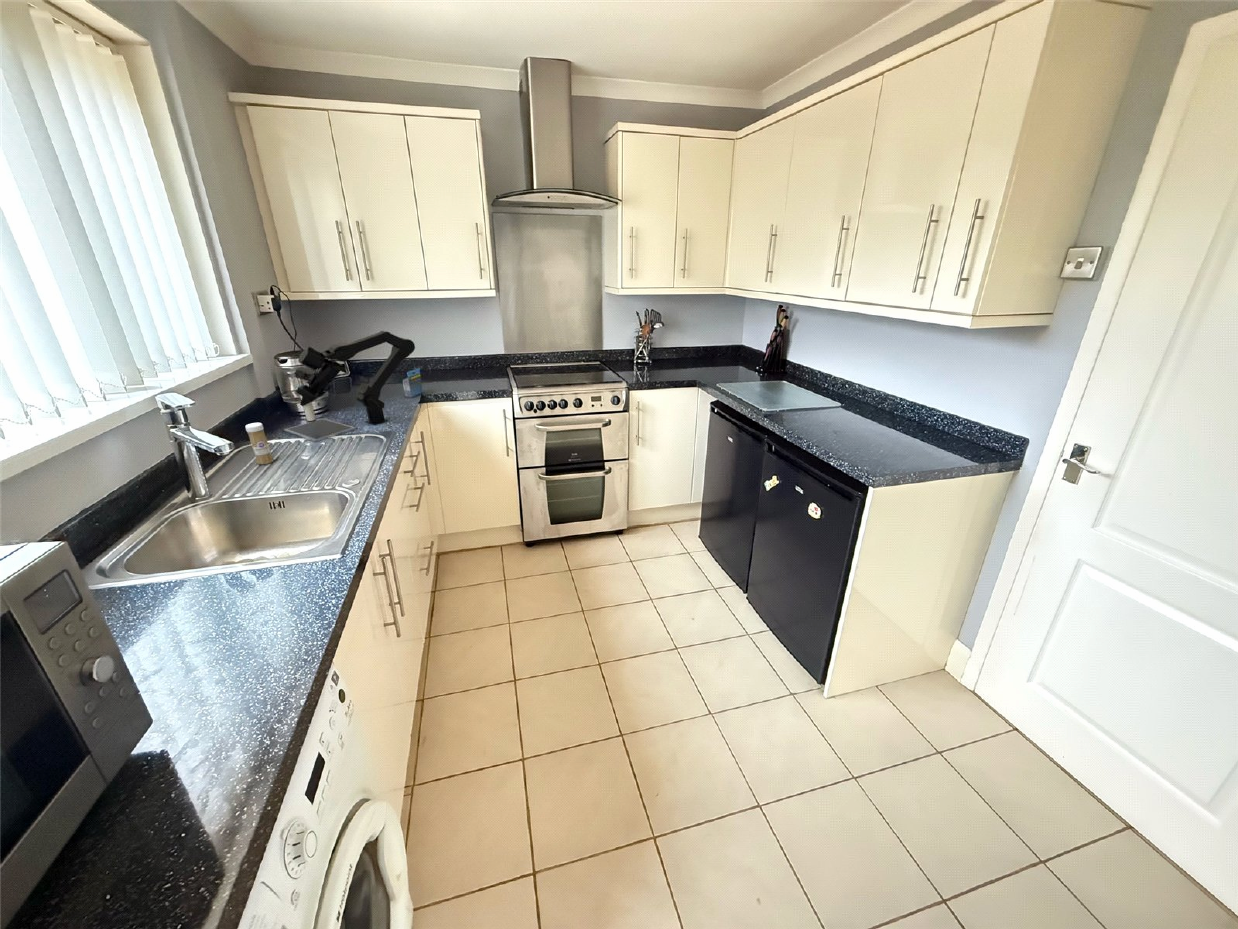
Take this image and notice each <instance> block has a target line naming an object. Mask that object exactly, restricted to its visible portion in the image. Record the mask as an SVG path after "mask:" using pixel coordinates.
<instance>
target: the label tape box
mask: <svg viewBox="0 0 1238 929" xmlns="http://www.w3.org/2000/svg"><path fill="white" fill-rule="evenodd" d="M406 375H407V377H406V378H404V379H402V386H403V391H404V397H405V398H413V397H414V398H415V397H416V396H419V395H421V394H423V393H424V391H423V384H422V378H421V372H420V368H419V367H418V368H415V369H412V370H409V371H407V372H406Z"/></svg>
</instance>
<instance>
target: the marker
mask: <svg viewBox="0 0 1238 929" xmlns="http://www.w3.org/2000/svg"><path fill="white" fill-rule="evenodd" d="M302 385H303V384H300V385H297V389H298V388H299V387H300V386H302ZM299 397H300V401H301V400H302V396H301V395H299ZM302 408H303V411H304V414H305V418H306V421H307V422H306V423H309V422H314V421H316V420H317V418H316V415H315V414H316V413H315V410H314V407H313V402H310V403H308V404H306V405H304V406H302Z"/></svg>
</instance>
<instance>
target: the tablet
mask: <svg viewBox="0 0 1238 929" xmlns="http://www.w3.org/2000/svg"><path fill="white" fill-rule="evenodd" d="M356 429H357V428H356V427H355V426H351V425H348V424H344V423H342V422H338V421H334V420H331V419H327V418H319V419H316V421H314V422H306V423H303V424H299V425H295V426H291V427H288V428H284V429H283V432H284V433H287V434H290V435H293V436H296V437H300V438H302V439H305V440H308V441H311V442H314V443H317V442H320V441H325V440H327V439H330V438H332V437H336V436H339V435H342V434H345V433H349V432H351V431H354V430H356Z"/></svg>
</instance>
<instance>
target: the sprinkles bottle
mask: <svg viewBox="0 0 1238 929" xmlns="http://www.w3.org/2000/svg"><path fill="white" fill-rule="evenodd" d="M245 431H246V432H247V435H248V438H249V440H250V441H249V442H250V444H251V448H252V450H253V454H254V455H255V458H256V461H257V464H258V465H267V464H271V463H273V461H274V458H273V455H272V453H271V448H270V445H269V442H268V439H267V436H266V434H265V429H264V425H263V423H261V422H252V423H248V424H246V425H245Z"/></svg>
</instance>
